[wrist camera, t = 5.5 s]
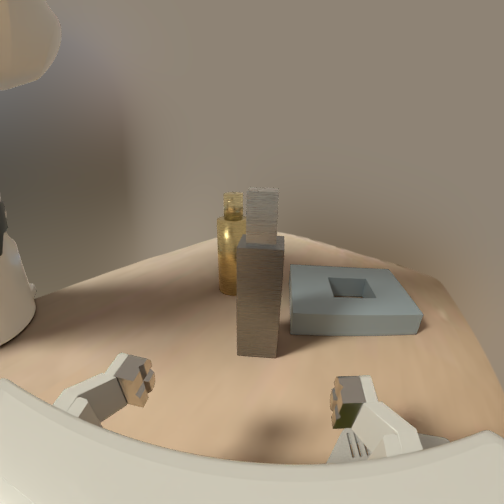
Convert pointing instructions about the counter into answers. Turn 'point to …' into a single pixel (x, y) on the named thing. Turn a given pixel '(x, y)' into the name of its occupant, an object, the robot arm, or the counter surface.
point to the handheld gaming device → (348, 437)
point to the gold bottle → (230, 241)
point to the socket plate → (349, 302)
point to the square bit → (259, 276)
